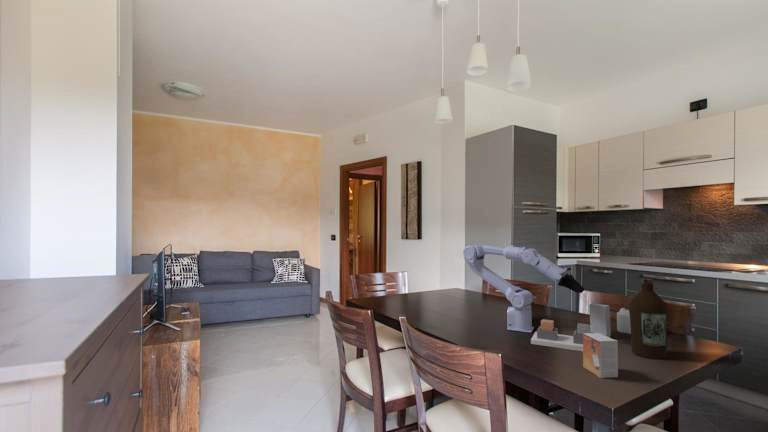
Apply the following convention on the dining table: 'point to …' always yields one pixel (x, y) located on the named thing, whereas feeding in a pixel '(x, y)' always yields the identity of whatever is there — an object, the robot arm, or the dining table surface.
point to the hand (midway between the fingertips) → (581, 291)
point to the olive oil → (648, 322)
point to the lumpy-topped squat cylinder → (623, 321)
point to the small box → (600, 355)
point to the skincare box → (600, 319)
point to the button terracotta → (547, 325)
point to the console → (558, 339)
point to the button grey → (583, 328)
